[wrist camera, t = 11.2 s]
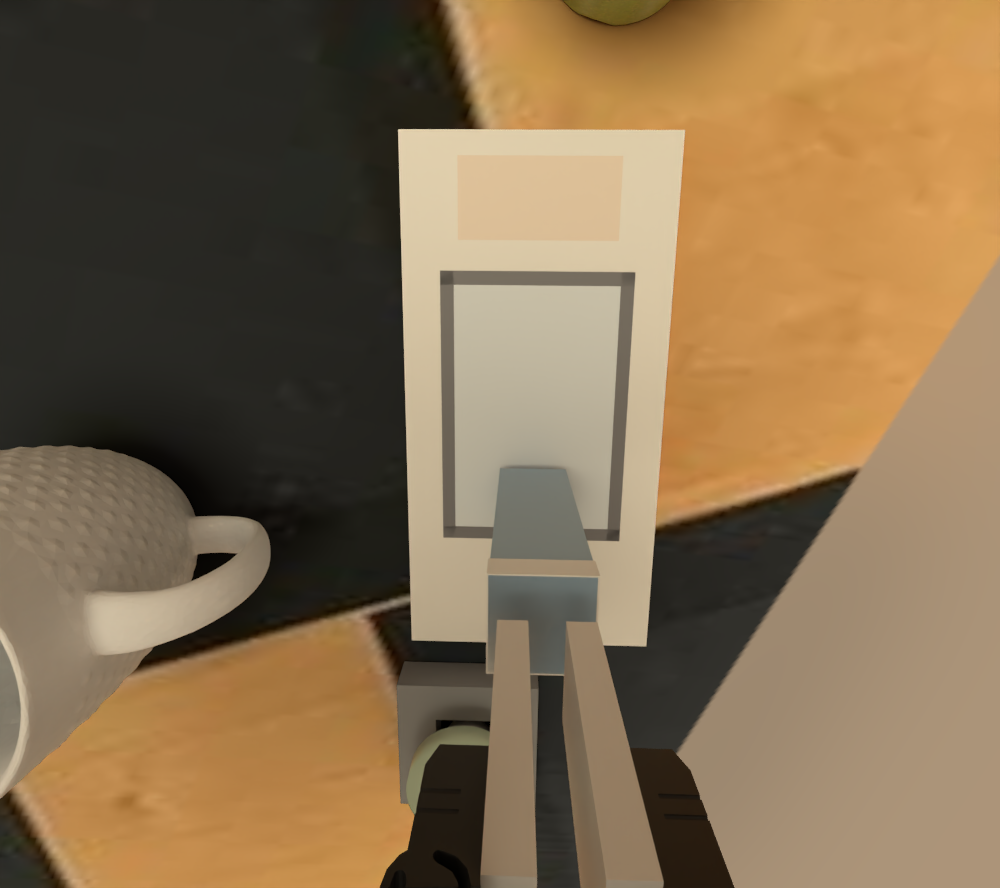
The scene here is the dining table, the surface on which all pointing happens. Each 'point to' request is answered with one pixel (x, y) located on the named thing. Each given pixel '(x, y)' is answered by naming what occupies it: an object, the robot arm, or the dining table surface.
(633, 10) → the plant pot
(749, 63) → the dining table surface
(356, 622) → the dining table surface
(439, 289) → the sheet
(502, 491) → the square grey prism
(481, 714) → the button housing
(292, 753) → the dining table surface
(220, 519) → the mug
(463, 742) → the button
